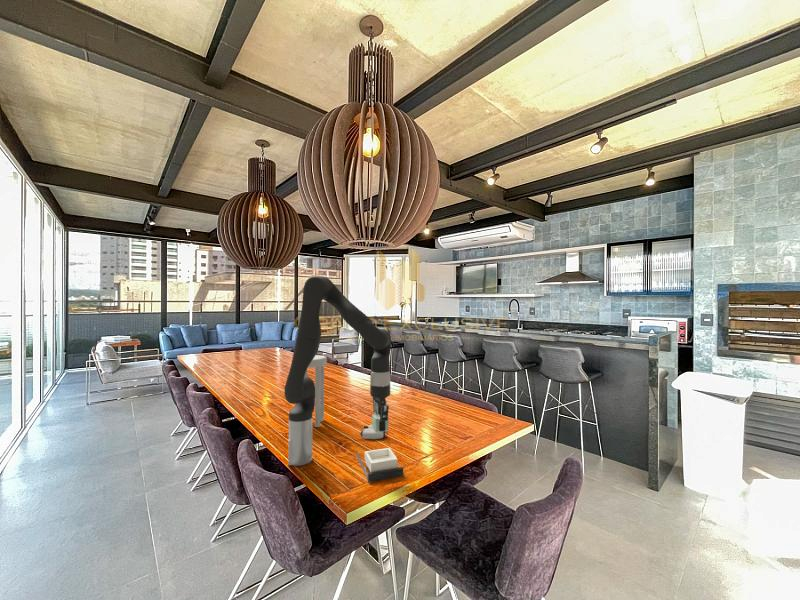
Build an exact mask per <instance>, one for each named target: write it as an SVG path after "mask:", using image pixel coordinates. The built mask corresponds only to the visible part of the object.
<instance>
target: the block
mask: <svg viewBox="0 0 800 600" xmlns="http://www.w3.org/2000/svg"><path fill="white" fill-rule="evenodd" d="M371 416H372V417H371V425H372V428H373V430H374V431H375V433H377V432H384V431H380V430H379V415H378V414H375V413H372V415H371ZM383 417H384V416H383ZM389 421H390V419H389V416H388V421H385V432H389V428H390V427H389V426H390V425H389V424H390V423H389Z"/></svg>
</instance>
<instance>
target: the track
mask: <svg viewBox="0 0 800 600" xmlns="http://www.w3.org/2000/svg"><path fill="white" fill-rule="evenodd" d="M355 455H356V458H357V459H358V460H357V461H358V463H359V464H360V467H361V469H362V470H363V473H364V475H365V478H366V480H367V483H372V482H379V481H384V480H389V479H390V480H391V479H397V478H401V477H404V467H403V466H399V467H398V468H392V469H387V470H381V471H375V472H370V471H369V472H368V471H367V468H366V466H365V465H364V462H363V461H362V458H361V456H360V455H359V453H355Z"/></svg>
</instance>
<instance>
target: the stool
mask: <svg viewBox="0 0 800 600" xmlns="http://www.w3.org/2000/svg"><path fill="white" fill-rule="evenodd" d="M327 361H328V358H327V356H326V355H319V354H318V355H317V354H316V355H315V357H314V358H313V360H312V362H311V363H310V365H309V366H308V368H310V369H311V368H313V369H315V370H314V374H315V375H314V376H315V378H314V385H315V407H314V428H315V427H320V428H321V422H324V421H325V414H324V413H325V366H326V365H327V363H328V362H327ZM308 368H307V370H306V373H305V376H304V377H308Z"/></svg>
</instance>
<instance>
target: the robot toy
mask: <svg viewBox="0 0 800 600" xmlns="http://www.w3.org/2000/svg"><path fill="white" fill-rule="evenodd" d="M362 429H363V430H361V431H360V432H359V434H358V435H360V437H361V438H362V439H365V440H379V439H380V440H381V439H383V438H385V436H386V435H387V432H386V431H384V432H377V433H375V431H374V430H373V428H372V424H369V425H368V426H367V425H364V426H362Z"/></svg>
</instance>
